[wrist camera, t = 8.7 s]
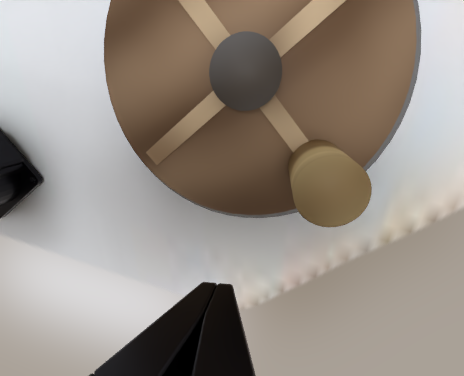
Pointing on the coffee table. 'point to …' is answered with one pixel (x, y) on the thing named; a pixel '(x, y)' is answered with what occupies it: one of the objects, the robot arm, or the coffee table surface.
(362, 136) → the handwheel
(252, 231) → the coffee table surface
